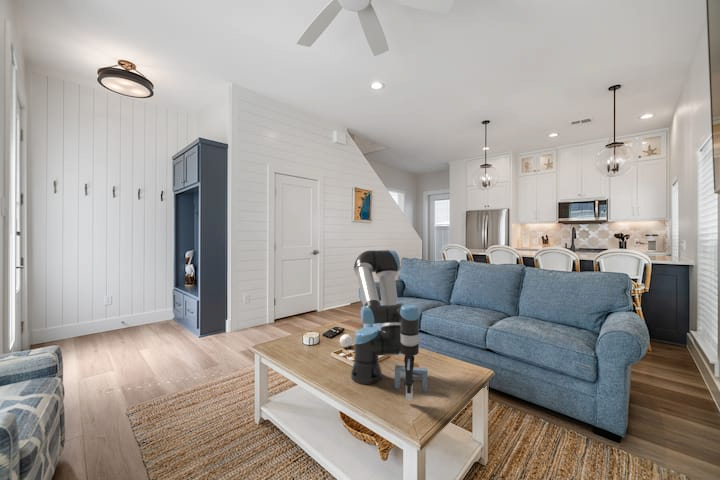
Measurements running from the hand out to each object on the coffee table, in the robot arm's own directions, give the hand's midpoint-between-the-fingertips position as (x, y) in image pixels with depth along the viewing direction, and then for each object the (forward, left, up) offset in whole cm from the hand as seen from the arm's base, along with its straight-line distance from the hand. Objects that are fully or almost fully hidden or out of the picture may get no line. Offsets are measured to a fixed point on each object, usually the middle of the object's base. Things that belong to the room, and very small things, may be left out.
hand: (409, 399), depth 128 cm
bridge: (0, +13, -2) cm, 13 cm away
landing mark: (0, +27, -2) cm, 27 cm away
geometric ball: (-42, +54, -2) cm, 68 cm away
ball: (0, +29, +1) cm, 29 cm away
